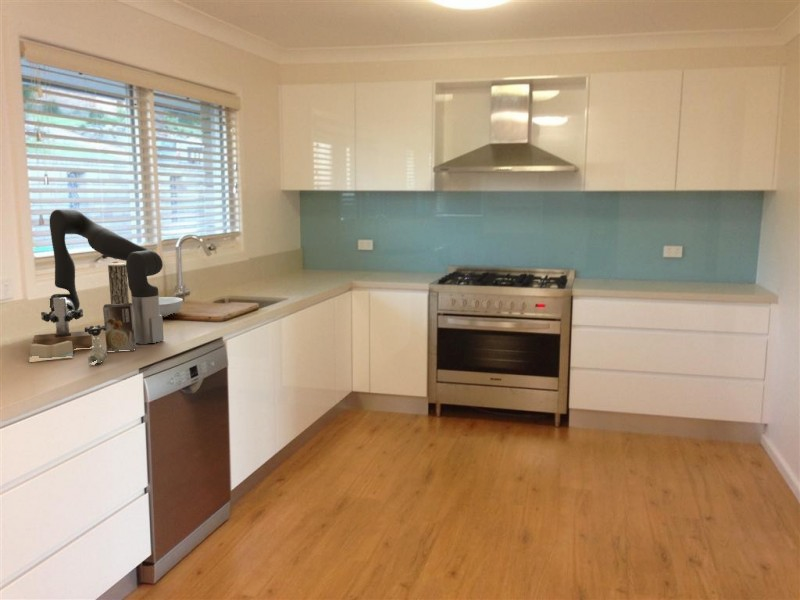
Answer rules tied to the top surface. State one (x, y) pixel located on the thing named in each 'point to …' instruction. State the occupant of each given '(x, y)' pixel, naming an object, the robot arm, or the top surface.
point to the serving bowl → (169, 305)
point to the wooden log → (118, 283)
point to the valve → (96, 344)
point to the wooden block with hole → (66, 339)
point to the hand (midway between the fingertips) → (61, 319)
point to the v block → (52, 350)
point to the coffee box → (119, 327)
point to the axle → (61, 316)
